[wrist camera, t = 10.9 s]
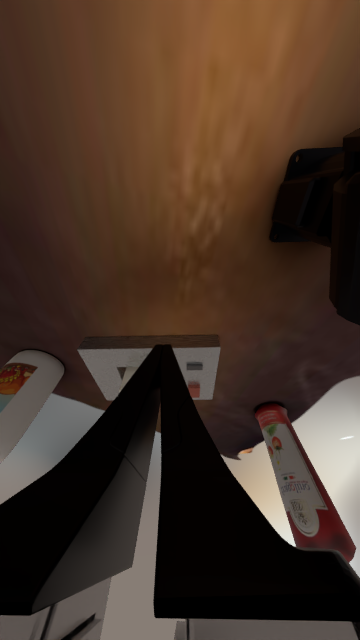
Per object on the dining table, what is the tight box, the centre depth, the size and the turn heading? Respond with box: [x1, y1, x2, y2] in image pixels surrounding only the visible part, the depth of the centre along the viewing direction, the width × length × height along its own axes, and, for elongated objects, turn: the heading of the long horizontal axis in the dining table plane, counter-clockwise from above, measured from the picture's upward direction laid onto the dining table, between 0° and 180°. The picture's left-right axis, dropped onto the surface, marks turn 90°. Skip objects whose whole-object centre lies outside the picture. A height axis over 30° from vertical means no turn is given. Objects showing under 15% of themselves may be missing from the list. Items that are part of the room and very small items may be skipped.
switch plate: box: [77, 335, 221, 400], centre depth 28 cm, size 20×14×3 cm
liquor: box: [255, 403, 356, 563], centre depth 27 cm, size 7×7×28 cm
